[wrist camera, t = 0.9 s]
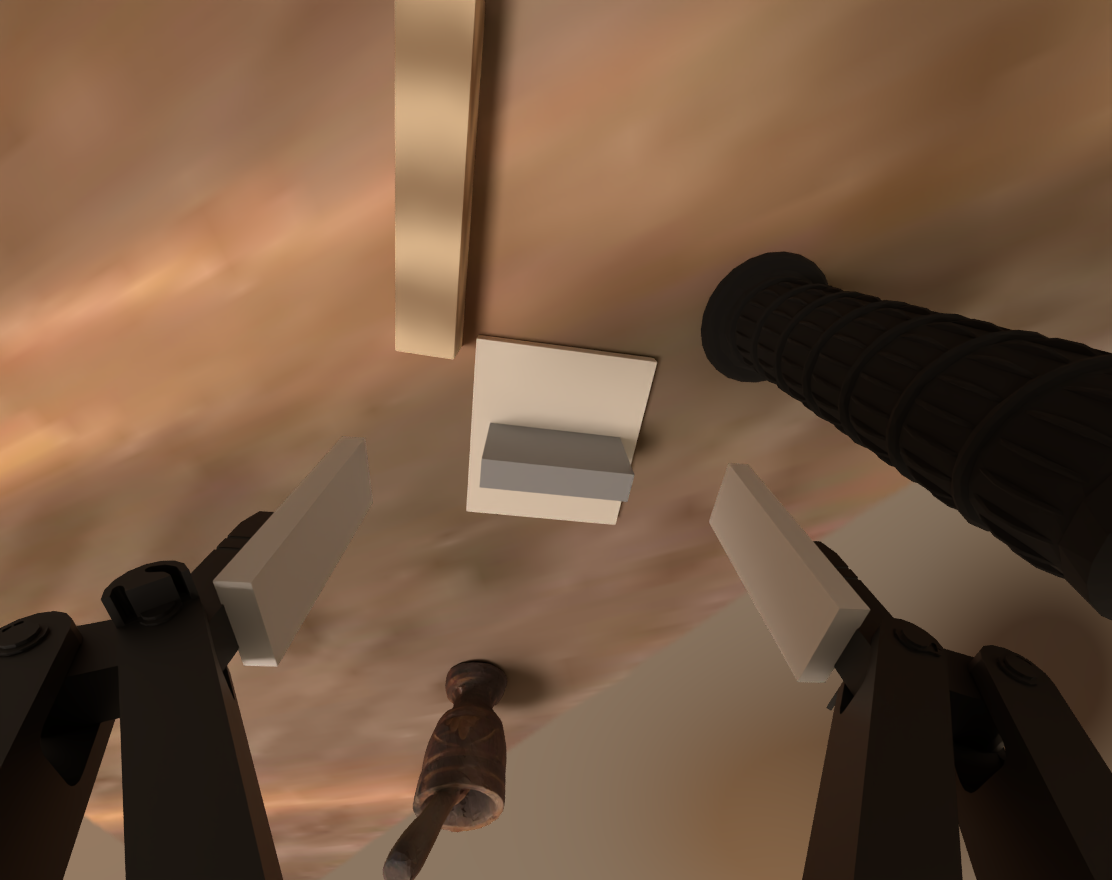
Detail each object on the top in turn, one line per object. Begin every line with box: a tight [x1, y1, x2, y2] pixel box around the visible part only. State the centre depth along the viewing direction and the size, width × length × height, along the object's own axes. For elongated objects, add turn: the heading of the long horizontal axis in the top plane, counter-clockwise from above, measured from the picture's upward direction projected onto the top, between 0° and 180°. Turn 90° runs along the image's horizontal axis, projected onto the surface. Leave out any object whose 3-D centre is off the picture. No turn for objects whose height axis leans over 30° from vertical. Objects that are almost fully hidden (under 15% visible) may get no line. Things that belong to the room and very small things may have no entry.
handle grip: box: [701, 252, 1112, 620], centre depth 22 cm, size 10×26×10 cm
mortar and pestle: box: [383, 662, 507, 880], centre depth 43 cm, size 12×9×20 cm
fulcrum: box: [466, 335, 657, 525], centre depth 34 cm, size 16×14×7 cm
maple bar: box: [395, 0, 486, 359], centre depth 27 cm, size 20×4×4 cm, turn 170°
